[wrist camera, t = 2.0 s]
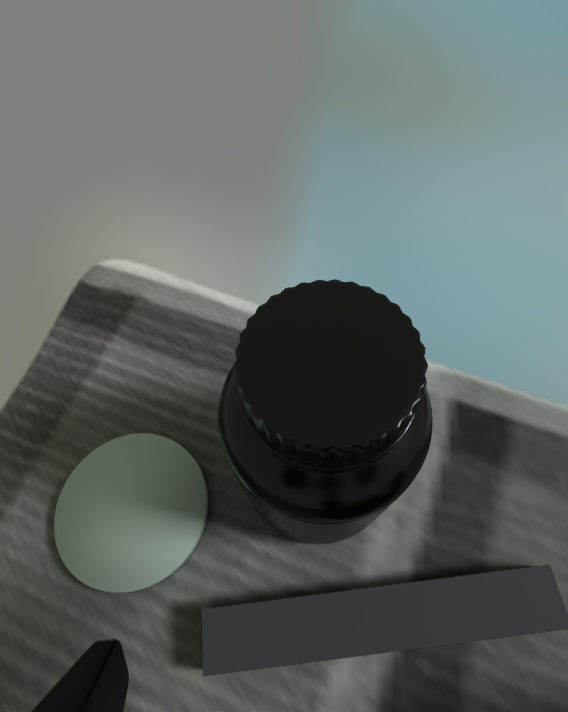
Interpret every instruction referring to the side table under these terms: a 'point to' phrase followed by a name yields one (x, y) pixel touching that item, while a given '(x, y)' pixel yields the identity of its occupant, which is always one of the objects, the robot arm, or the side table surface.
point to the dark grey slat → (381, 619)
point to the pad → (131, 513)
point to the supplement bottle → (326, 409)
